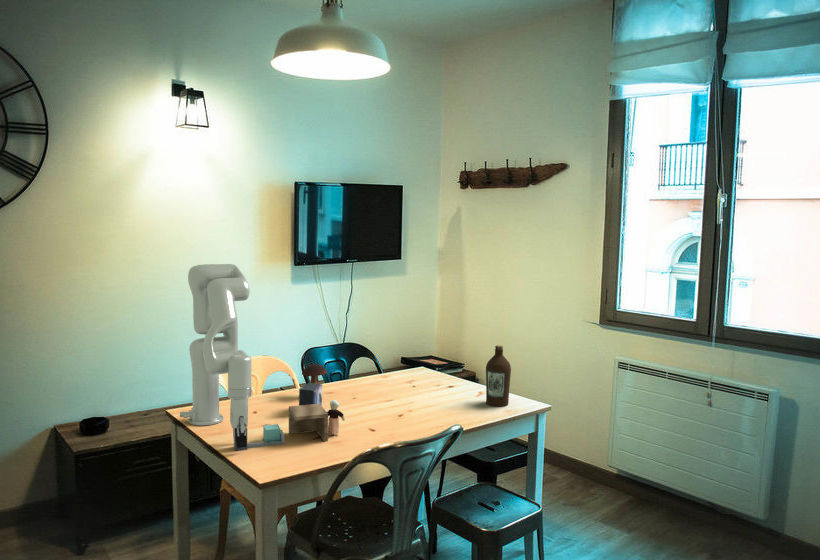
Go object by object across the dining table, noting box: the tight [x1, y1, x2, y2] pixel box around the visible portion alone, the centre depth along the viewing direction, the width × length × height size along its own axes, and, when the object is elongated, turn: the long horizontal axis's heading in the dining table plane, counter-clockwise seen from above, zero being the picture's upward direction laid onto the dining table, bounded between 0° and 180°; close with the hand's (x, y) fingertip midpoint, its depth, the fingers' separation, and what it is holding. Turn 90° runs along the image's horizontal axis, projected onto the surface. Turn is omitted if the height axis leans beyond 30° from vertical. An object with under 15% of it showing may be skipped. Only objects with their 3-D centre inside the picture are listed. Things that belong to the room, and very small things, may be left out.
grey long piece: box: [233, 426, 285, 452], centre depth 216 cm, size 16×6×7 cm, turn 111°
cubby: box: [288, 404, 329, 442], centre depth 225 cm, size 11×13×10 cm
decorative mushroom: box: [301, 362, 328, 384], centre depth 276 cm, size 11×11×15 cm
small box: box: [298, 382, 323, 407], centre depth 255 cm, size 11×6×10 cm, turn 168°
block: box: [262, 423, 281, 442], centre depth 221 cm, size 5×5×5 cm
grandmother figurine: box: [326, 399, 346, 437], centre depth 228 cm, size 8×4×13 cm, turn 93°
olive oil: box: [485, 345, 512, 408], centre depth 272 cm, size 11×11×25 cm
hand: (239, 442), depth 213 cm, fingers open, 9 cm apart
